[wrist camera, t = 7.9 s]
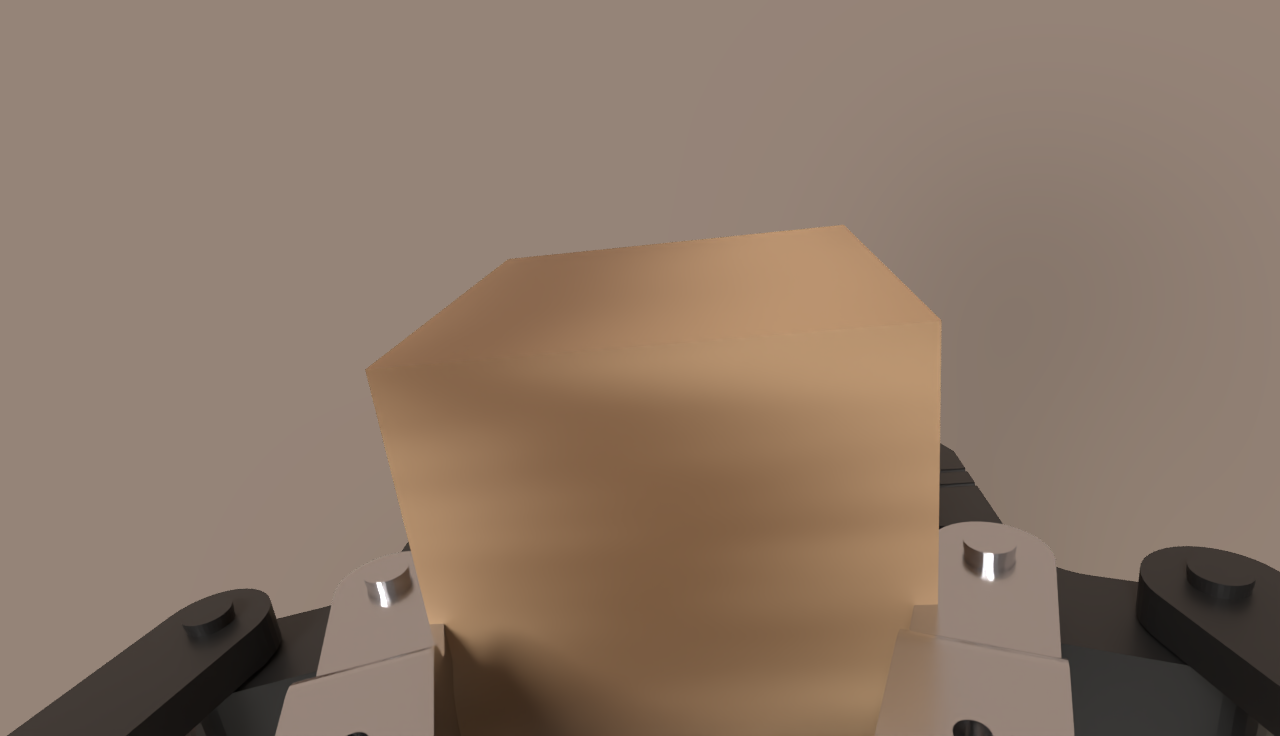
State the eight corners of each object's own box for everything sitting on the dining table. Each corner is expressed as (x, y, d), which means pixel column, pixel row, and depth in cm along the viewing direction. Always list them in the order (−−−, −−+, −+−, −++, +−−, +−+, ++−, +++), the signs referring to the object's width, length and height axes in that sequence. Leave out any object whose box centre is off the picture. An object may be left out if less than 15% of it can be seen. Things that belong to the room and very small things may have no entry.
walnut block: (860, 759, 14) (844, 225, 11) (931, 1089, 9) (941, 320, 6) (597, 762, 15) (508, 259, 11) (542, 1073, 10) (365, 370, 7)
